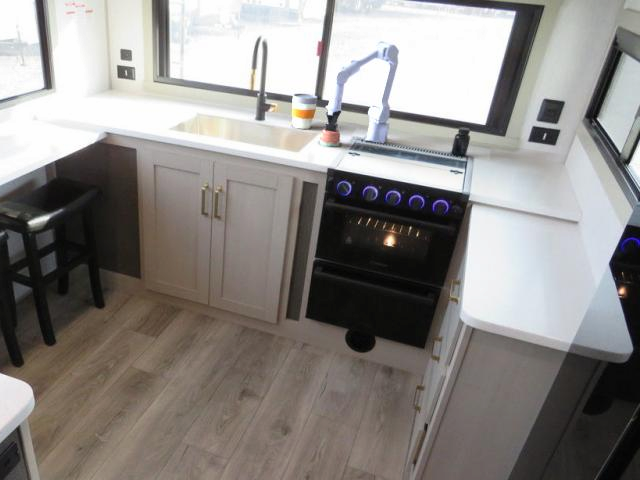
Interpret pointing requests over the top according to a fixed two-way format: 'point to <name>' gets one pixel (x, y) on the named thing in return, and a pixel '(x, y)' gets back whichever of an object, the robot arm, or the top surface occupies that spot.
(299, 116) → the reusable coffee cup
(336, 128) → the binder clip
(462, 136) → the supplement bottle
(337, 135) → the cup stack
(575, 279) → the top surface
